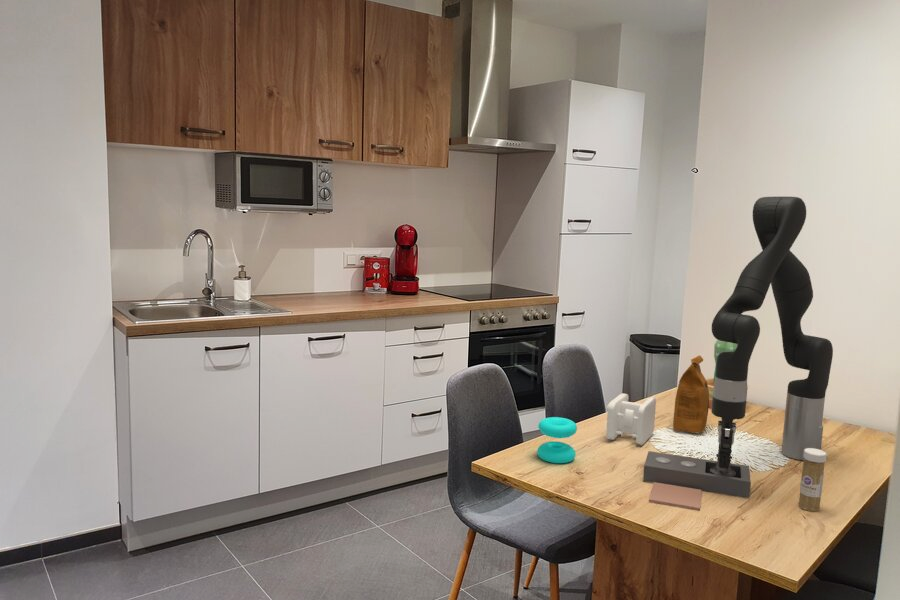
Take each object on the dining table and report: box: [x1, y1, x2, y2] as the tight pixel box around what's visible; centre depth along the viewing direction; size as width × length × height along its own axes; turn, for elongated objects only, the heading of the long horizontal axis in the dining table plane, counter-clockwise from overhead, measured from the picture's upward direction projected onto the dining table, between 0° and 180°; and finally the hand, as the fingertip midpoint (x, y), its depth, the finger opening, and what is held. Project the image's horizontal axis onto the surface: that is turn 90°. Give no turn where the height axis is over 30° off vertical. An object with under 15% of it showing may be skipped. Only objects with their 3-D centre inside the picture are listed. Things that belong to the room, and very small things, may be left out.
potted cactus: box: [705, 339, 749, 409], centre depth 239 cm, size 15×16×25 cm
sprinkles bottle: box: [797, 448, 827, 512], centre depth 161 cm, size 5×5×14 cm
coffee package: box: [672, 355, 710, 434], centre depth 215 cm, size 10×12×22 cm
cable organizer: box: [605, 392, 657, 446], centre depth 205 cm, size 15×11×12 cm
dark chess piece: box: [710, 442, 736, 477], centre depth 172 cm, size 6×6×12 cm
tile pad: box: [648, 482, 702, 512], centre depth 165 cm, size 11×11×1 cm
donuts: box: [536, 416, 578, 464], centre depth 188 cm, size 10×10×10 cm
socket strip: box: [642, 450, 752, 499], centre depth 175 cm, size 24×11×4 cm, turn 69°
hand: (723, 462), depth 172 cm, fingers open, 7 cm apart
